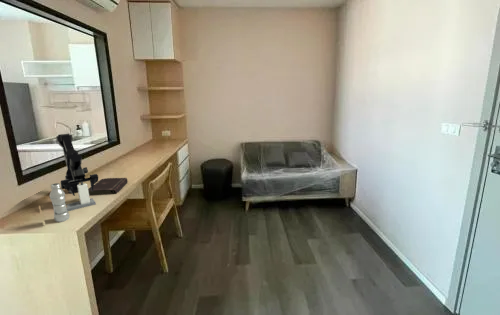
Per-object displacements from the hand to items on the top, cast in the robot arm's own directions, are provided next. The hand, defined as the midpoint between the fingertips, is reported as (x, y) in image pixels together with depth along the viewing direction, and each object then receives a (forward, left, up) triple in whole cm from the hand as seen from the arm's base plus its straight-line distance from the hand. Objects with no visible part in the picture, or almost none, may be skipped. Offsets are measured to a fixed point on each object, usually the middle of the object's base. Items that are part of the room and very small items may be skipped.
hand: (83, 193), depth 157 cm
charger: (0, 0, -7) cm, 7 cm away
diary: (-27, +7, -9) cm, 29 cm away
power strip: (+1, -3, -8) cm, 9 cm away
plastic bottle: (+18, -6, -8) cm, 20 cm away
